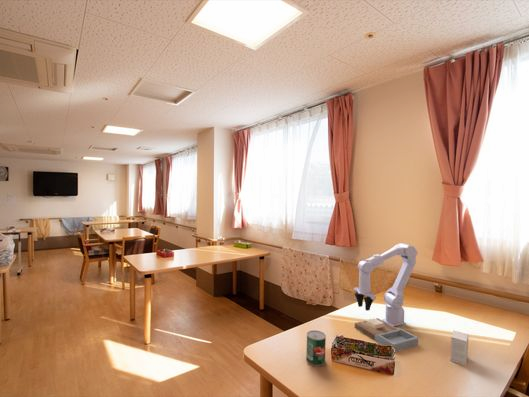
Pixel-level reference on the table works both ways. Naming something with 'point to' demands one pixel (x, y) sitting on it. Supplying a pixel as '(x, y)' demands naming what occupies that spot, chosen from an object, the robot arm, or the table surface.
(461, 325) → the table surface
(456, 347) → the small box
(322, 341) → the canned tomato
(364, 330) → the board
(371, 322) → the tile
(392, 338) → the box
